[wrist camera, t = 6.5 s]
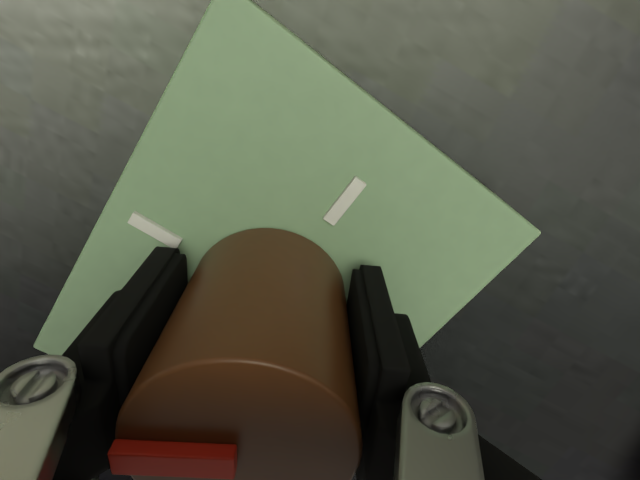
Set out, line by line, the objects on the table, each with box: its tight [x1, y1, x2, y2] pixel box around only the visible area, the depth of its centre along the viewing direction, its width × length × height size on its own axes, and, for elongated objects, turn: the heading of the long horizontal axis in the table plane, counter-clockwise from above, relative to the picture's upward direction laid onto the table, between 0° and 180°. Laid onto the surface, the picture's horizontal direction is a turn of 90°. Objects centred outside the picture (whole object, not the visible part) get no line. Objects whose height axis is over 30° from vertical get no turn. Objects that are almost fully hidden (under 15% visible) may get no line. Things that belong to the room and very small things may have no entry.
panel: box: [33, 0, 541, 356], centre depth 13 cm, size 12×10×3 cm
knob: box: [107, 228, 363, 480], centre depth 9 cm, size 4×4×5 cm
